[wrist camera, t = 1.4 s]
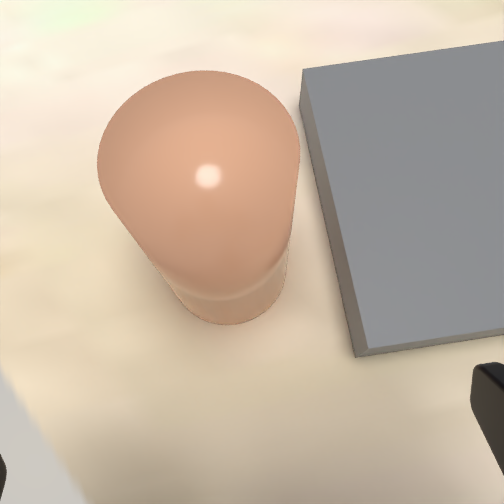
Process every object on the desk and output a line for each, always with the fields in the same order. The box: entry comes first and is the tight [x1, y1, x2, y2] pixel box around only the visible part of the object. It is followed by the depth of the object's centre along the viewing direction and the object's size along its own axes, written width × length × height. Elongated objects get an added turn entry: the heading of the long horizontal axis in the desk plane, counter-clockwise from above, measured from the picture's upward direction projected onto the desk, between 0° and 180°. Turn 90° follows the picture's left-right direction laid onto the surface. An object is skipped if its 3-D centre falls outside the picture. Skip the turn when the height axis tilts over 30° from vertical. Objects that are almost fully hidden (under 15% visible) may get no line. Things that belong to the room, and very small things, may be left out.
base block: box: [299, 41, 504, 358], centre depth 23 cm, size 15×15×3 cm
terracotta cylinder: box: [97, 71, 300, 325], centre depth 18 cm, size 6×6×11 cm
